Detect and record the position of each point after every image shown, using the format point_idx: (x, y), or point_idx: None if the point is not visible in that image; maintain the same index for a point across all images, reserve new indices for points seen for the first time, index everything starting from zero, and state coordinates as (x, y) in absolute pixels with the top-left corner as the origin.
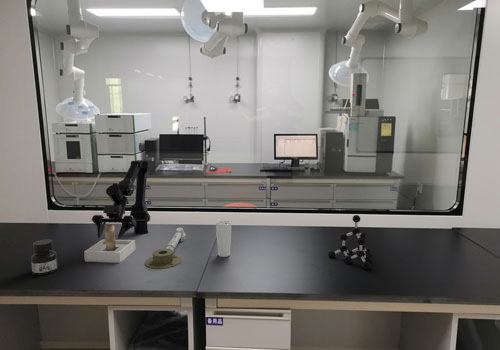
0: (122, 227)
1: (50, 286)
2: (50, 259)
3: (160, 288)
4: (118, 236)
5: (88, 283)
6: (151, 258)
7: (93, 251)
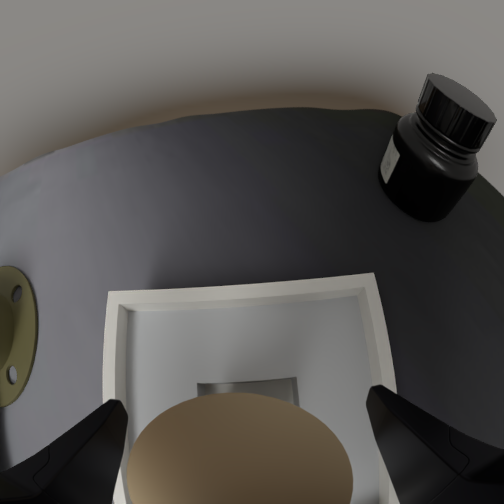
0: (34, 471)
1: (295, 114)
2: (395, 130)
3: (19, 170)
4: (111, 404)
5: (189, 136)
6: (22, 362)
7: (310, 284)
